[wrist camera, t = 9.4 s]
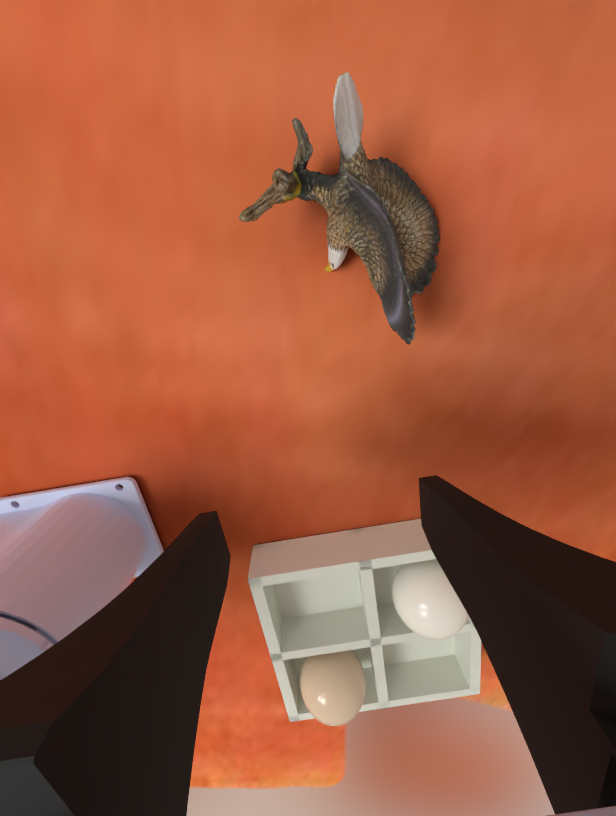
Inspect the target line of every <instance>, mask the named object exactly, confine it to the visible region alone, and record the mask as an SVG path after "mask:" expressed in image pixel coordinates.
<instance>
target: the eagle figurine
mask: <svg viewBox="0 0 616 816" xmlns="http://www.w3.org/2000/svg"><path fill="white" fill-rule="evenodd" d="M333 108H334V119H335V128H336V133H337V138H338V142H339V146H340V148H341V149H340V166H339V173H336V174H335V175H325V174H321V173H320V172H314V171H309V170H308V169H306V166H307V163H308V161H309V159H310V157H311V155H312V152H313V147H312V145H311V144H310V142H309V139H308V134H307V133H306V132H305V129H304V127H303V125H302V123H301V121H299V120H298V119H296V118H295V119H293V120H292V122H293V126H294V130H295V132H296V135H297V139H298V147H297V151H296V154H295V158H294V162H293V171H292V172H291V173H288V172H286V171H284V170H282V169H279V168H278V169H277V170H275V171H274V173H273V177H272V180H273V184H272V185H271V186H270V187H269V188H268V189H267V190H266V191H265V193H264V194H263V195H262V196H261V197H260V198H259V199H258V200H257V201H256V202H255V203H254V204H253V205H251V206H249V207H247V208H246V209H245V210H244V211H242V213H241V214H240V215H239V219H240V220H241V221H244V222H249V221H255V220H257V219H258V218H259V217H260V216H261V215H262V214H263V213H264V212H265V211H266V210H268V209H270V208H272V206H273V205H274V204H276V203H285V202H287V201H290V200H293V199H295V198H297V197H299V198H300V199H303V200H305V201H309V200H315V201H317V202H318V203H319V204H320V205H322V206H323V207H324V208H325V209H326V211H327V214H328V222H327V241H328V253H329V256H328V265H327V267H326V268H325V270H326V271H327V272H331V271H333V270H334V269H337V268H338V267H339V266H340V265H341V263H342V262H343V261H344V259H345V257H346V254H347V251H348V248H349V247H350V248H351V249H353V250H354V251H355V253H357V254H358V255H359V257H360V258H361V260H362V261H363V263H364V264H365V267H366V269H367V272H368V274H369V277H370V280H371V283H372V285H373V287H374V289H375V290H376V292H377V293H378V295H379V296H380V298H381V300H382V305H383V309H384V312H385V315H386V317H387V320H388V322H389V324H390V326H391V328H392V329H393V331H395V332H397V333H398V335H399V336H400V337H401V338H402V339H403V340H405V342H406V343H407V344H411V340H414V337H415V336H414V333H415V328H414V325H415V318H414V315H413V311H414V310H413V306H412V298H411V297H412V296H413V294H414V292H415V293H417V294H420V293H422V292H423V291H424V287H425V286H429V285H430V283H431V274H432V273H434V272H435V270H436V261H435V259H434V256H436V255H437V254H438V252H439V250H438V247H437V243H439V239H440V237H439V228H438V226H437V222H438V221H437V218H436V217H435V215H434V213H435V211H434V209H433V208H432V207H431V206H430V204H429V201H428V200H427V198H426V196H425V195H424V194H421V190H420V189H419V188H418V187H417V185H416V183H415V182H414V181H413V180H411V179H410V177H409V175H408V174H407V173H406V172H405V171H404V169H403V168H401V167H399V166H398V165H397V164H396V163H392V162H391V161H390V160H389V159H388V158H385V159H384V158H382V157H380V158H379V159H378V160H377V159H372V160H369V159H367V157H366V154H365V151H364V148H363V146H362V143H361V133H362V127H363V107H362V104H361V101H360V99H359V96H358V94H357V91H356V87H355V83H354V81H353V80H352V77H351V75H350V74H349V73H348V72H346V73H345V74H341V75H340V76H339V78H338V80H337V85H336V87H335V94H334V97H333Z"/></svg>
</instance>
